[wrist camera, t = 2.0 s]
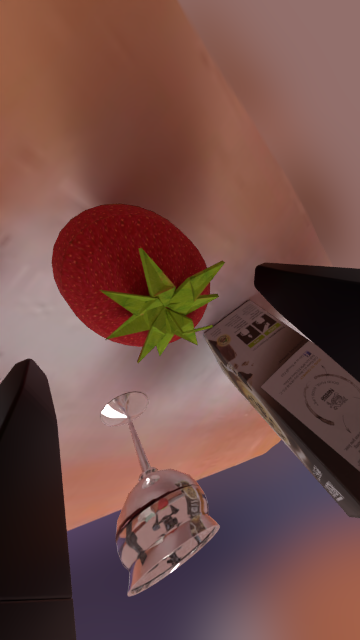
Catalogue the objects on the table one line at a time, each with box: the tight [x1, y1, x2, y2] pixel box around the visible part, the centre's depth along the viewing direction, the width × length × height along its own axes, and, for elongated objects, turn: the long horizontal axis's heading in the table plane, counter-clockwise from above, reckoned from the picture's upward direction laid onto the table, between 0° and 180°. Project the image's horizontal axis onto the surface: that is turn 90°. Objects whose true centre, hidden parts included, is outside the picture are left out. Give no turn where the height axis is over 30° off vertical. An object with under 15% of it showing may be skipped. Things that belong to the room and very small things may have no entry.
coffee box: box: [204, 300, 360, 518], centre depth 20 cm, size 9×6×16 cm
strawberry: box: [52, 204, 225, 363], centre depth 11 cm, size 6×8×10 cm
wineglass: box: [101, 392, 220, 596], centre depth 19 cm, size 7×7×12 cm
